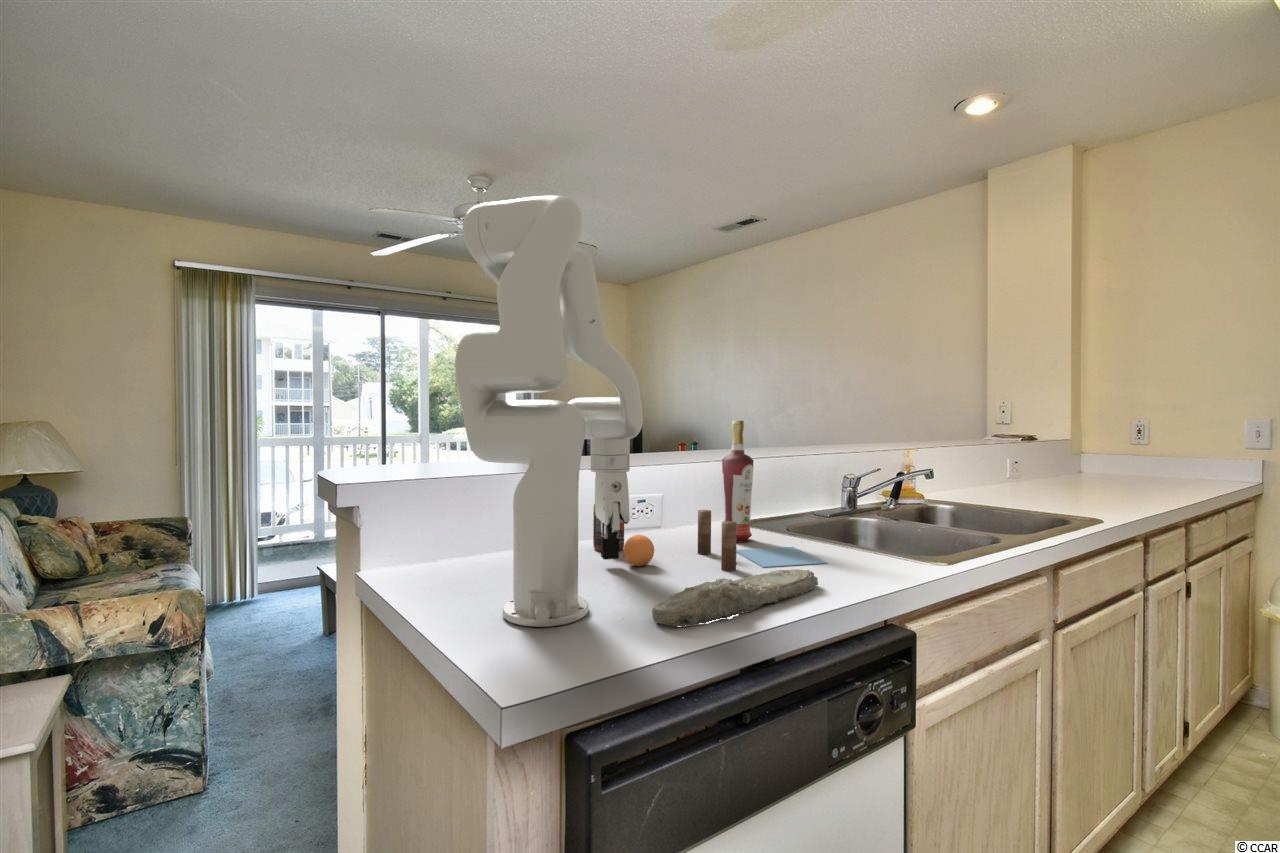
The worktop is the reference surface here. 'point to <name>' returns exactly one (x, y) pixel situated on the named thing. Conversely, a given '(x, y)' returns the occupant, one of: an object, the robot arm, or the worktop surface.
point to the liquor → (738, 484)
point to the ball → (638, 550)
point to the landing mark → (780, 557)
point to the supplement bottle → (598, 536)
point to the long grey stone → (731, 597)
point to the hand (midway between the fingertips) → (610, 557)
